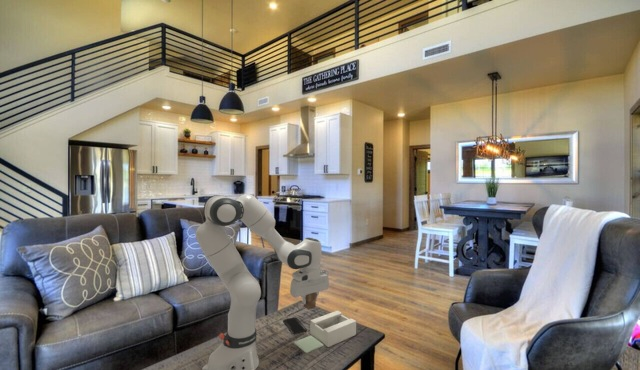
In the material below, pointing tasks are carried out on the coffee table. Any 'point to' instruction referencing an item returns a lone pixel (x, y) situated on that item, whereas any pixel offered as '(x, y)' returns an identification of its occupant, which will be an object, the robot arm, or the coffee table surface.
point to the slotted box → (332, 328)
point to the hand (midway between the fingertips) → (309, 302)
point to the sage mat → (308, 344)
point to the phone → (294, 325)
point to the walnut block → (310, 301)
